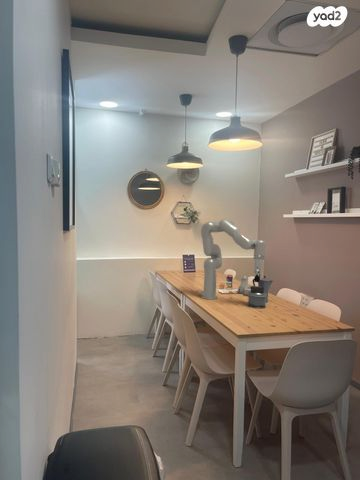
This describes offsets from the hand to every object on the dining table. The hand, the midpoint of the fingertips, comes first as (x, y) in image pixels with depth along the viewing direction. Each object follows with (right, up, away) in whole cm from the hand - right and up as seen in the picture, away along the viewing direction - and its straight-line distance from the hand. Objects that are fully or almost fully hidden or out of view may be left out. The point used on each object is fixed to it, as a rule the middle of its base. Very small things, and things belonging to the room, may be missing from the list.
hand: (257, 280), depth 249 cm
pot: (0, -18, 0) cm, 18 cm away
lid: (0, -9, 0) cm, 9 cm away
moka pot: (+7, -18, +17) cm, 26 cm away
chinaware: (+2, -17, +47) cm, 50 cm away
